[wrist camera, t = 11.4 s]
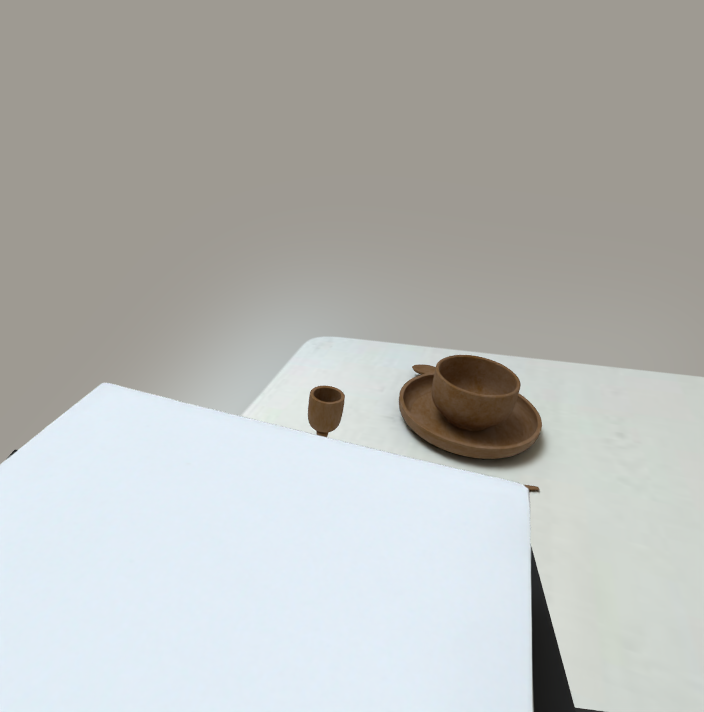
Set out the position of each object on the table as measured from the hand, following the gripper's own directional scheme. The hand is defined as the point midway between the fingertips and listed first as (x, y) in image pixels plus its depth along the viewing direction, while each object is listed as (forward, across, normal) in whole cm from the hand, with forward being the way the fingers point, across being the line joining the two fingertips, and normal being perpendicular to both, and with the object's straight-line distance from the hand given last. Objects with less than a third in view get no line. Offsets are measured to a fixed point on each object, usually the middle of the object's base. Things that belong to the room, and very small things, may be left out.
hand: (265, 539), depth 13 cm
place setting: (+37, +8, -20) cm, 43 cm away
